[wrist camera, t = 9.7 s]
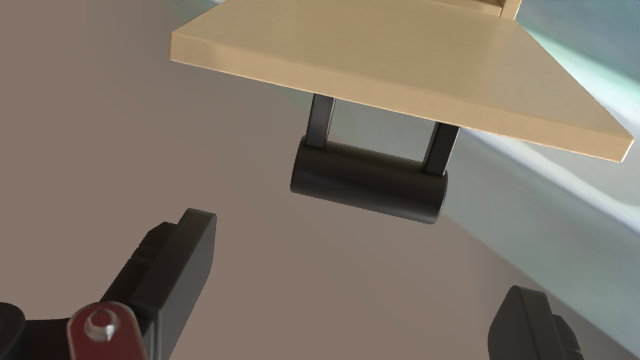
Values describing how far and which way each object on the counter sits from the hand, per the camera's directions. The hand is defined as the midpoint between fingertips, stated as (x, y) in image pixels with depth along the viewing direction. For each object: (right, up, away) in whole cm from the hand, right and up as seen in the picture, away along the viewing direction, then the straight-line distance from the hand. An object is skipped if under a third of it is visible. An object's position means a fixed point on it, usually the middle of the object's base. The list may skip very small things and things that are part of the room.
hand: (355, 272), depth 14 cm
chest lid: (+2, +9, +6) cm, 11 cm away
